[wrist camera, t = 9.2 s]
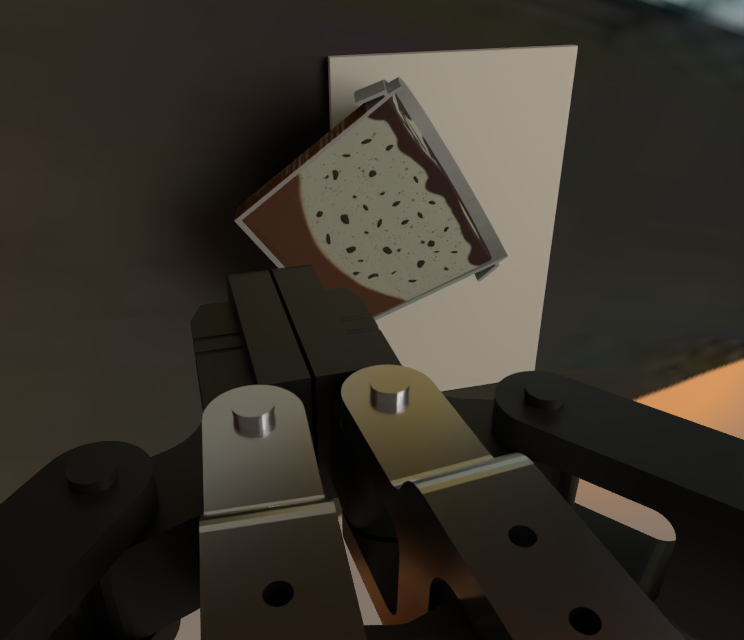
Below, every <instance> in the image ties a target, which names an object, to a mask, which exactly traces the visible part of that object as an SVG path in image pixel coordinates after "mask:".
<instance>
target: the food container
mask: <svg viewBox="0 0 744 640" xmlns="http://www.w3.org/2000/svg"><path fill="white" fill-rule="evenodd" d="M354 98H355V103H356V105H357V106H358V105H360V104H362V105H361V106H359V107H358V108H357V109H356V110H355V111H353V112H352V113H351V114H350V115H349V116H347V117H346V118H345V119H344V120H342V121H341V122H340V123H339V124H338V125H336V126H335V127H334V128H333V129H332V130H330V131H329V132H328V133H327V134H326V135H324V136H323V137H322V138H321V139H319V140H318V141H317V142H316V143H315V144H313V145H312V146H311V147H310V148H309V149H307V150H306V151H305V152H304V153H302V154H301V155H300V156H299V157H298V158H296V159H295V160H294V161H293V162H292V163H290V164H289V165H288V166H287V167H285V168H284V169H283V170H282V171H281V172H279V173H278V174H277V175H276V176H275V177H273V178H272V179H271V180H270V181H268V182H267V183H266V184H265V185H264V186H262V187H261V188H260V189H259V190H258V191H256V192H255V193H254V194H253V195H251V196H250V197H249V198H248V199H247V200H245V201H244V202H243V203H242V204H241V205H239V206H238V207H237V210H236V212H235V218H234V221H235V222H236V223H237V224H238V225H239V226H240V228H241V229H242V230H243V231H244V232H245V233H246V234H247V235H248V236H249V237H250V238H251V239H252V240H253V241H254V242H255V244H256V245H257V246H258V247H259V248H260V249H261V250H262V251H263V252H264V253H265V254H266V255H267V256H268V257H269V258H270V260H271V261H272V262H273V263H274V264H275V265H276V266H277V267H278V268H286V267H294V266H303V265H312V267H313V269H314V271H315V273H316V275H317V277H318V278H319V280H320V282H321V284H322V286H323V288H324V289H332V288H340V287H343V288H345V289H347V290H348V291H350V292H351V293H353V294H355V295H356V296H358V297H360V298H361V299H362V300H363V302H364V303H365V305H366V307H367V308H368V310H369V312H370V313H371V317H373V318H374V320H377V319H379V318H382V317H384V316H386V315H388V314H390V313H392V312H394V311H396V310H399V309H401V308H403V307H405V306H407V305H409V304H411V303H413V302H416V301H418V300H420V299H422V298H424V297H426V296H428V295H431V294H433V293H435V292H437V291H439V290H441V289H443V288H445V287H448V286H450V285H452V284H454V283H456V282H458V281H460V280H462V279H465V278H467V277H469V276H471V275H473V274H475V277H476V279H477V281H479V282H480V281H481V280H483V279H484V278H485V277H486V276H488V275H489V274H490V273H491V272H493V271H494V270H495V269H496V268H498V267H499V264H498V263H499V262H500V261H502V260H504V259H505V258H507V257H508V255H507V253H506V251H505V249H504V247H503V245H502V243H501V241H500V239H499V237H498V235H497V234H496V232H495V230H494V228H493V226H492V224H491V222H490V221H489V219H488V217H487V215H486V213H485V212H484V210H483V208H482V206H481V205H480V203H479V201H478V199H477V197H476V196H475V194H474V192H473V190H472V189H471V187H470V185H469V184H468V182H467V180H466V178H465V177H464V175H463V173H462V172H461V170H460V168H459V166H458V165H457V163H456V161H455V160H454V158H453V156H452V155H451V153H450V151H449V150H448V148H447V146H446V145H445V143H444V141H443V140H442V138H441V137H440V135H439V133H438V132H437V130H436V129H435V127H434V125H433V124H432V122H431V121H430V119H429V117H428V116H427V114H426V113H425V111H424V110H423V108H422V107H421V105H420V104H419V102H418V100H417V99H416V97H415V96H414V95H413V93H412V92H411V90H410V89H409V87H408V86H407V85H406V83H405V82H404V81H403V80H402V79H401V78H400V77H397V78H396V79H394V80H392V81H390V82H389V83H388V82H387V81H386V80H385V79H384V80H381V81H379V82H376V83H374V84H372V85H369V86H367V87H364V88H362V89H359V90H357V91H355V92H354Z"/></svg>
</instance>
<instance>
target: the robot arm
mask: <svg viewBox="0 0 744 640" xmlns="http://www.w3.org/2000/svg"><path fill="white" fill-rule="evenodd" d="M227 292H228V302H223V303H215V304H207V305H200V307H199V309H198V310H197V312H196V313H195V315H194V317H193V318H192V320H191V329H192V337H193V344H194V352H195V359H196V367H197V374H198V382H199V389H200V396H201V403H202V409H203V416H202V422H201V424H200V426H199V427H198V428H197V430H196V431H195V432H194V433H193V434H192V435H191V436H190V437H189V438H188V439H186V440H185V441H184V442H182V443H180V444H179V445H177V446H175V447H174V448H171V449H169V450H167V451H165V452H162V453H160V454H157V455H155V456H153V457H149V455H148V454H147V453H146V452H145V451H144V450H142V449H141V448H139V447H138V446H135V445H133V444H130V443H125V442H119V441H102V442H95V443H90V444H86V445H82V446H79V447H76V448H74V449H71V450H69V451H67V452H65V453H63V454H61V455H60V456H58V457H56V458H55V459H54V460H52V461H51V462H50V463H48V464H47V465H46V466H45V467H44V468H42V469H41V470H40V471H39V472H38V473H37V474H35V475H34V476H33V477H32V478H31V479H29V480H28V481H27V482H26V483H25V484H24V485H22V486H21V487H20V488H19V489H18V490H17V491H15V492H14V493H13V494H12V495H11V496H10V497H8V498H7V499H6V500H5V501H4V502H3V503H1V504H0V640H174V639H175V637H176V635H177V632H178V630H179V626H180V620H181V618H183V617H185V616H187V615H188V614H190V613H192V612H194V611H196V610H197V609H199V608H200V614H201V615H200V617H201V640H744V440H743V439H740V438H737V437H734V436H731V435H728V434H726V433H723V432H720V431H717V430H714V429H712V428H709V427H706V426H703V425H700V424H697V423H695V422H692V421H689V420H686V419H683V418H680V417H677V416H675V415H672V414H669V413H666V412H663V411H661V410H658V409H655V408H652V407H649V406H647V405H644V404H641V403H638V402H635V401H633V400H630V399H627V398H624V397H621V396H618V395H616V394H613V393H610V392H607V391H604V390H601V389H599V388H596V387H593V386H590V385H587V384H585V383H582V382H579V381H576V380H573V379H570V378H568V377H565V376H562V375H558V374H555V373H550V372H544V371H522V372H518V373H514V374H511V375H509V376H507V377H505V378H503V379H502V380H501V381H500V382H499V383H498V385H497V386H496V389H495V395H494V400H482V399H461V398H452V397H446V396H444V395H443V394H442V393H441V391H440V390H439V389H438V387H437V386H436V385H435V384H434V382H433V381H432V380H431V379H430V378H429V377H427V376H426V375H425V374H423V373H421V372H419V371H417V370H415V369H412V368H409V367H405V366H402V365H401V363H400V361H399V360H398V358H397V356H396V355H395V353H394V351H393V350H392V348H391V346H390V345H389V343H388V341H387V340H386V338H385V336H384V335H383V333H382V331H381V330H379V328H378V325H377V323H376V322H375V320H374V318H373V317H371V313H370V312H369V310H368V308H367V307H366V305H365V303H364V302H363V300H362V299H361V298H360V297H358V296H356V295H355V294H353V293H351V292H350V291H348V290H347V289H345V288H343V287H340V288H332V289H324V288H323V286H322V284H321V282H320V280H319V278H318V277H317V275H316V273H315V271H314V269H313V267H312V265H303V266H294V267H286V268H277V269H271V270H270V273H269V271H268V270H261V271H252V272H244V273H235V274H227ZM579 478H580V479H583V480H585V481H587V482H590V483H592V484H594V485H597V486H599V487H602V488H604V489H606V490H608V491H611V492H613V493H616V494H618V495H620V496H623V497H625V498H627V499H630V500H632V501H635V502H637V503H639V504H642V505H644V506H646V507H649V508H651V509H653V510H655V511H657V512H659V513H660V514H662V515H663V516H664V517H665V518H666V519H667V520H668V521H669V522H670V523H671V525H672V526H673V528H674V530H675V533H676V540H675V541H662V540H658V539H655V538H653V537H651V536H649V535H646V534H644V533H642V532H640V531H638V530H635V529H633V528H631V527H628V526H626V525H624V524H622V523H619V522H617V521H615V520H613V519H610V518H608V517H606V516H604V515H601V514H599V513H597V512H595V511H592V510H590V509H588V508H585V507H583V506H581V505H579V504H576V503H574V501H575V497H576V491H577V487H578V483H579ZM333 498H339V501H340V504H341V507H342V523H343V524H342V528H343V537H344V540H345V543H346V545H347V547H348V549H349V551H350V554H351V556H352V558H353V560H354V562H355V564H356V567H357V569H358V571H359V573H360V576H361V578H362V580H363V582H364V584H365V587H366V589H367V591H368V593H369V595H370V598H371V599H372V602H373V604H374V606H375V608H376V611H377V613H378V615H379V617H380V619H381V622H382V624H383V625H363V620H362V617H361V612H360V608H359V604H358V600H357V596H356V591H355V588H354V583H353V579H352V575H351V571H350V567H349V563H348V558H347V554H346V550H345V546H344V542H343V538H342V533H341V529H340V525H339V521H338V517H337V513H336V509H335V505H334V502H333V500H332V499H333Z"/></svg>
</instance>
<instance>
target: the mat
mask: <svg viewBox="0 0 744 640" xmlns="http://www.w3.org/2000/svg"><path fill="white" fill-rule="evenodd" d="M577 49H578V46H576V45H557V46H535V47H513V48H492V49H470V50H448V51H426V52H404V53H382V54H360V55H338V56H328V79H329V112H330V130H332V129H333V128H334V127H335V126H336V125H338V124H339V123H340V122H341V121H342V120H344V119H345V118H346V117H347V116H349V115H350V114H351V113H352V112H353V111H355V110H356V109H357V108H358V107H359V106H361V105H362V104H360V105H358V106H357V105H356V103H355V98H354V92H355V91H357V90H359V89H362V88H364V87H367V86H369V85H372V84H374V83H376V82H379V81H381V80H384V79H385V80H386V81H387V82H388V83H389V82H390V81H392V80H394V79H396V78H397V77H400V78H401V79H402V80H403V81H404V82H405V83H406V85H407V86H408V87H409V89H410V90H411V92H412V93H413V95H414V96H415V97H416V99H417V100H418V102H419V104H420V105H421V107H422V108H423V110H424V111H425V113H426V114H427V116H428V117H429V119H430V121H431V122H432V124H433V125H434V127H435V129H436V130H437V132H438V133H439V135H440V137H441V138H442V140H443V141H444V143H445V145H446V146H447V148H448V150H449V151H450V153H451V155H452V156H453V158H454V160H455V161H456V163H457V165H458V166H459V168H460V170H461V172H462V173H463V175H464V177H465V178H466V180H467V182H468V184H469V185H470V187H471V189H472V190H473V192H474V194H475V196H476V197H477V199H478V201H479V203H480V205H481V206H482V208H483V210H484V212H485V213H486V215H487V217H488V219H489V221H490V222H491V224H492V226H493V228H494V230H495V232H496V234H497V235H498V237H499V239H500V241H501V243H502V245H503V247H504V249H505V251H506V253H507V255H508V257H507V258H505V259H504V260H502V261H500V262H499V263H498V264H499V267H498V268H496V269H495V270H494V271H493V272H491V273H490V274H489V275H488V276H486V277H485V278H484V279H483V280H481V281H480V282H479V281H477V279H476V277H475V274H473V275H471V276H469V277H467V278H465V279H462V280H460V281H458V282H456V283H454V284H452V285H450V286H448V287H445V288H443V289H441V290H439V291H437V292H435V293H433V294H431V295H428V296H426V297H424V298H422V299H420V300H418V301H416V302H413V303H411V304H409V305H407V306H405V307H403V308H401V309H399V310H396V311H394V312H392V313H390V314H388V315H386V316H384V317H382V318H379V319H377V320H375V322H376V323H377V325H378V328H379V330H381V331H382V333H383V335H384V336H385V338H386V340H387V341H388V343H389V345H390V346H391V348H392V350H393V351H394V353H395V355H396V356H397V358H398V360H399V361H400V363H401V365H402V366H405V367H409V368H412V369H415V370H417V371H419V372H421V373H423V374H425V375H426V376H427V377H429V378H430V379H431V380H432V381H433V382H434V384H435V385H436V386H437V387H438V389H439V390H440V391H446V390H453V389H459V388H465V387H471V386H478V385H484V384H490V383H496V382H500V381H501V380H502V379H503V378H505V377H507V376H509V375H511V374H514V373H518V372H522V371H534V369H535V361H536V354H537V347H538V339H539V332H540V324H541V317H542V309H543V302H544V294H545V287H546V280H547V272H548V265H549V257H550V250H551V242H552V235H553V227H554V220H555V213H556V205H557V198H558V190H559V183H560V175H561V168H562V160H563V153H564V146H565V138H566V131H567V123H568V116H569V108H570V101H571V93H572V86H573V79H574V71H575V64H576V56H577Z"/></svg>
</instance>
